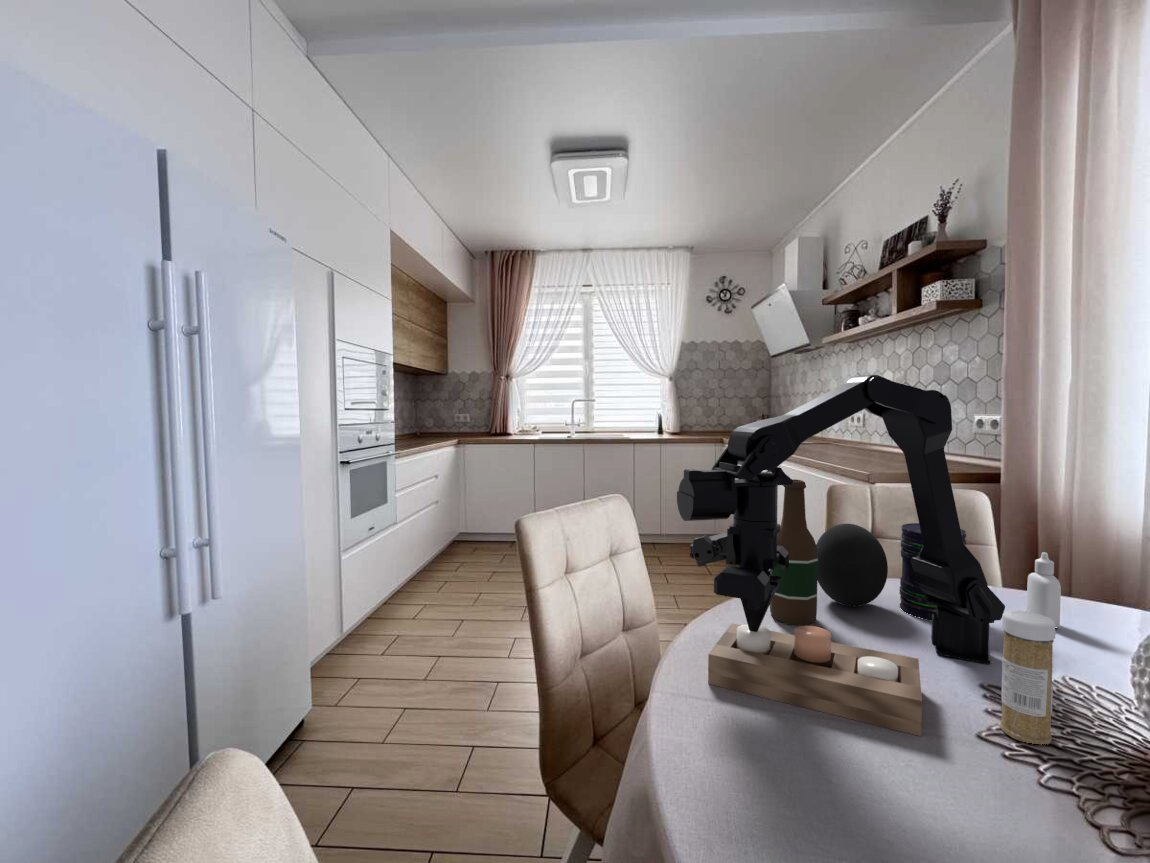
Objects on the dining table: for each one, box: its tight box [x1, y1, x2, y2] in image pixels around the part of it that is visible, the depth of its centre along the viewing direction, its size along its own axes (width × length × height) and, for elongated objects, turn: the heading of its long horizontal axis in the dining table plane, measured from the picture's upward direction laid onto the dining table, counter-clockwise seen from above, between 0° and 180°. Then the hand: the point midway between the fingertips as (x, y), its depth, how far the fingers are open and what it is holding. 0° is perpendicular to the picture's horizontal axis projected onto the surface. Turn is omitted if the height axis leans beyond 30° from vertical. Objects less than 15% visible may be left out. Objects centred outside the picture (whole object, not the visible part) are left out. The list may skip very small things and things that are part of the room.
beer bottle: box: [769, 478, 818, 626], centre depth 96 cm, size 8×8×24 cm
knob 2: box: [857, 656, 898, 682], centre depth 69 cm, size 4×4×3 cm
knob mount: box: [707, 623, 923, 737], centre depth 73 cm, size 24×12×4 cm, turn 60°
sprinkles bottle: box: [999, 610, 1056, 746], centre depth 62 cm, size 5×5×13 cm
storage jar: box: [898, 522, 967, 621], centre depth 99 cm, size 10×10×15 cm
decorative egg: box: [816, 523, 889, 607], centre depth 103 cm, size 12×12×15 cm
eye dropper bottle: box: [1026, 551, 1062, 628], centre depth 94 cm, size 4×6×12 cm
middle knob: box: [793, 625, 832, 662], centre depth 73 cm, size 4×4×3 cm
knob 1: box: [737, 623, 771, 655], centre depth 77 cm, size 4×4×3 cm
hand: (753, 630), depth 77 cm, fingers closed, pressing on knob 1
